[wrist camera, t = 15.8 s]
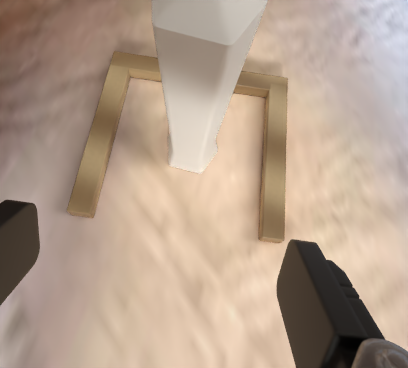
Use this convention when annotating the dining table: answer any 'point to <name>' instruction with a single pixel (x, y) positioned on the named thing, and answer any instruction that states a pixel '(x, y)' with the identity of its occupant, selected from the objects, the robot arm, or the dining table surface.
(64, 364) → the dining table surface
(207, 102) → the white faceted vase
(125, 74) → the brass frame
